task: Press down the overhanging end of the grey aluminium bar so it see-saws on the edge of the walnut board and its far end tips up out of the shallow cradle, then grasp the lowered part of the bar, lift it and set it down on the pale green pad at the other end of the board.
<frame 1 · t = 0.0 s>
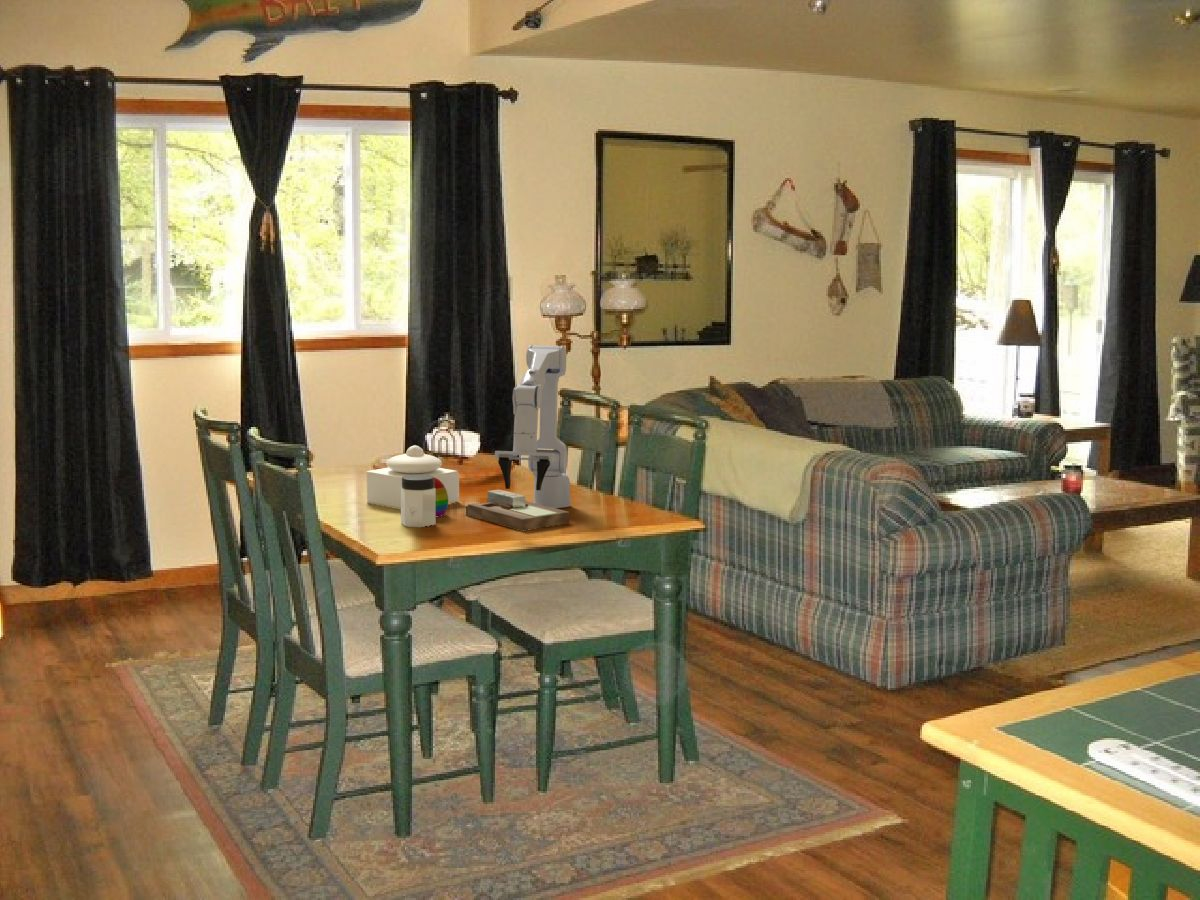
hand: (523, 489, 326), 11 cm above the table, tool pointing down, fingers open, 7 cm apart
pad: (533, 512, 336), resting on board
jar: (418, 524, 334), on the table
butter dish: (412, 504, 361), on the table
board: (516, 519, 342), on the table
bar: (506, 504, 345), point 3 cm above the table, touching board
decorative egg: (432, 516, 345), on the table
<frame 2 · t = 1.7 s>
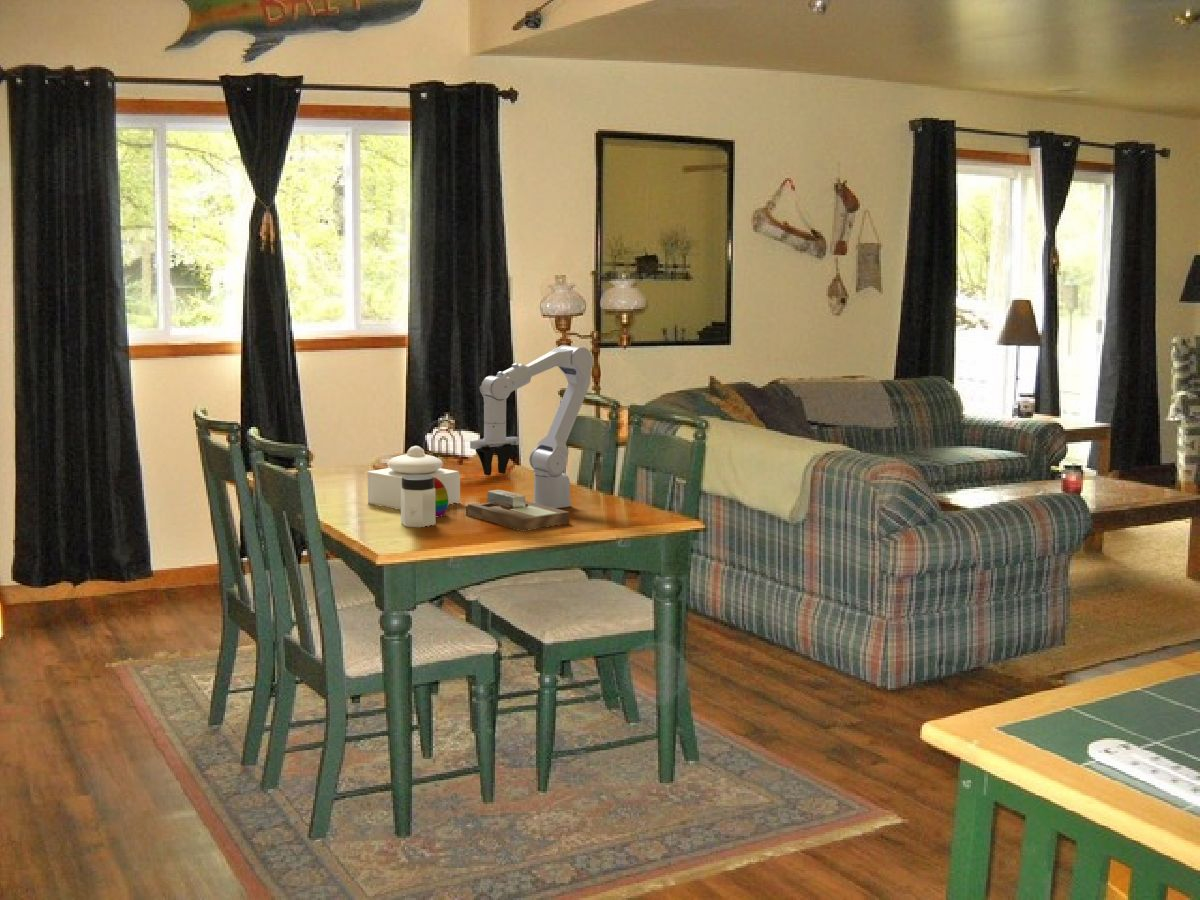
hand: (494, 474, 347), 10 cm above the table, tool pointing down, fingers open, 4 cm apart
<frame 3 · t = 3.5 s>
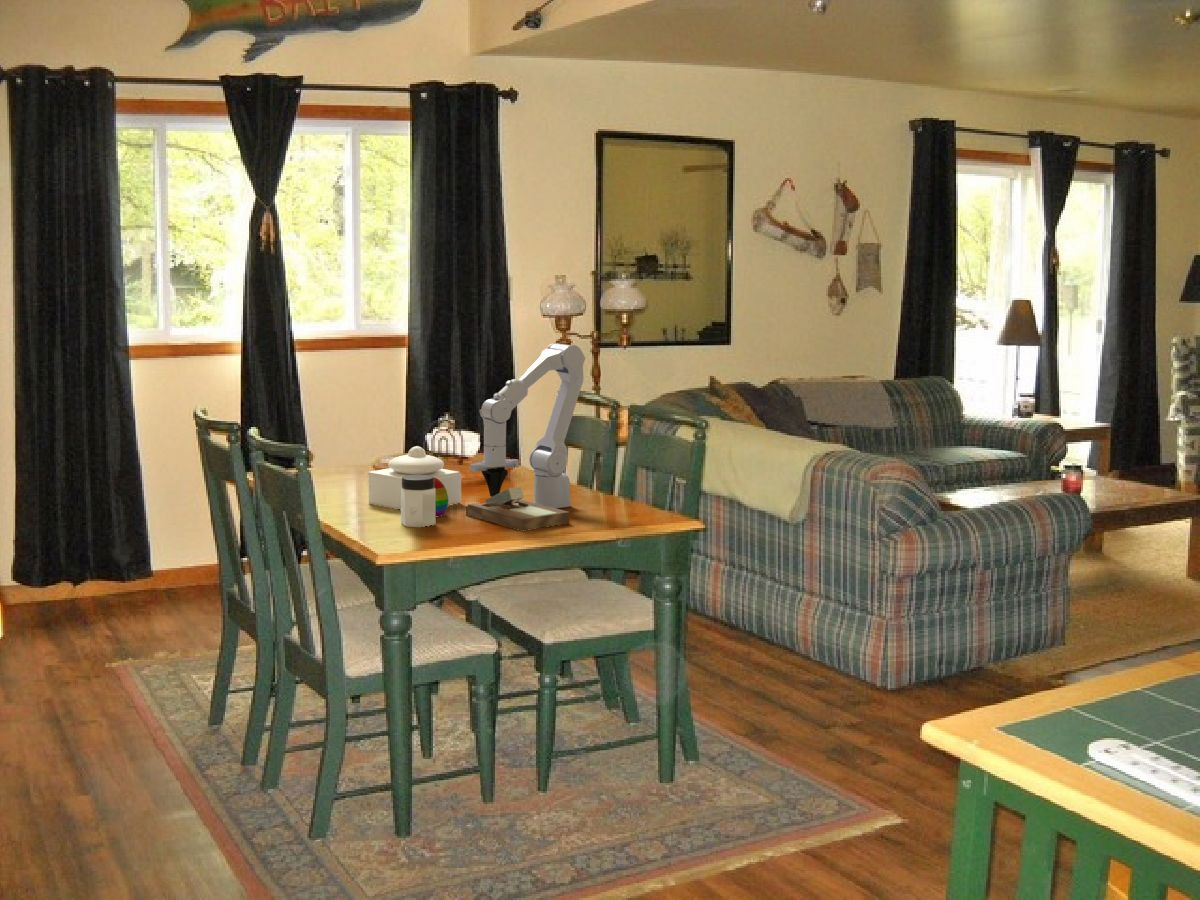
hand: (494, 496, 348), 4 cm above the table, tool pointing down, fingers closed, pressing on bar
bar: (505, 504, 345), point 3 cm above the table, tilted 25°, touching board, gripper
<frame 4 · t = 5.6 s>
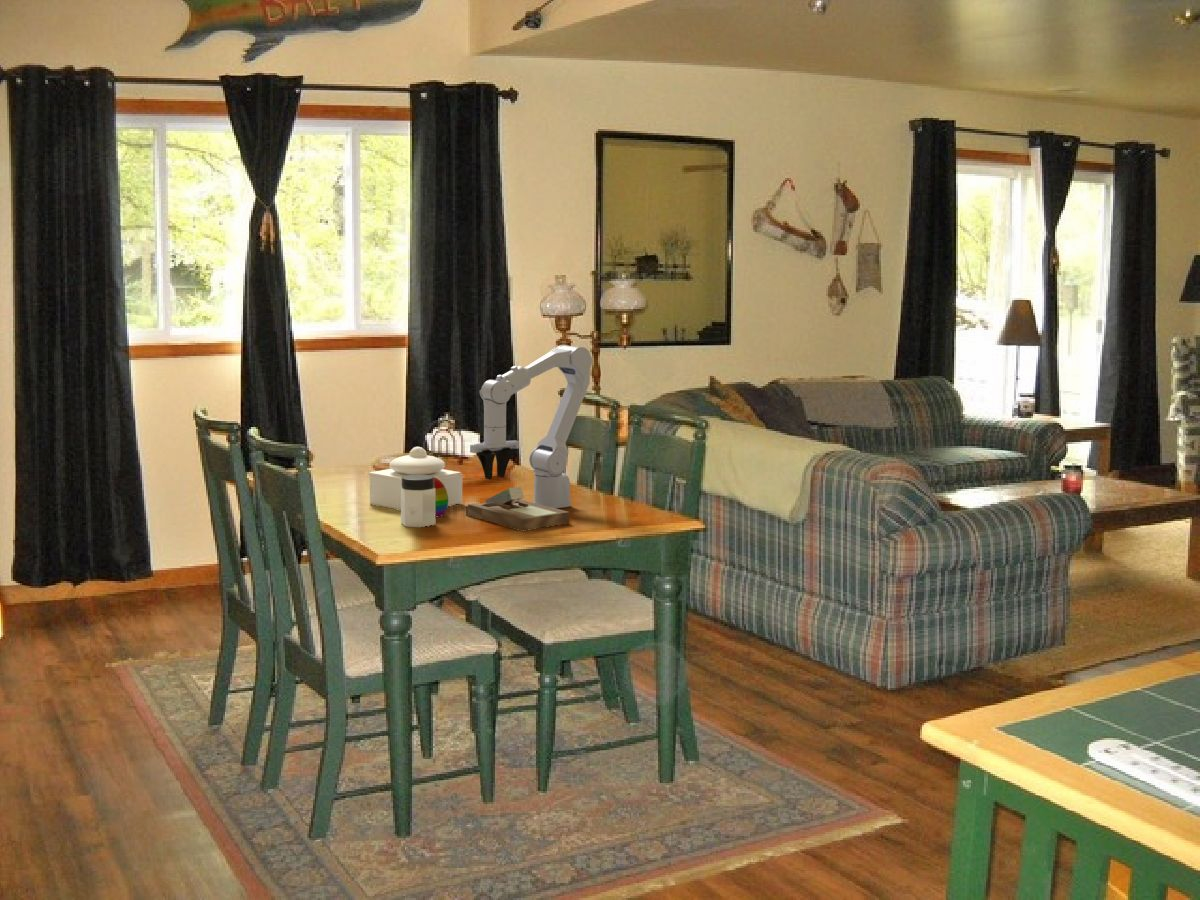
hand: (494, 477, 347), 9 cm above the table, tool pointing down, fingers open, 3 cm apart
bar: (505, 504, 345), point 3 cm above the table, tilted 25°, touching board
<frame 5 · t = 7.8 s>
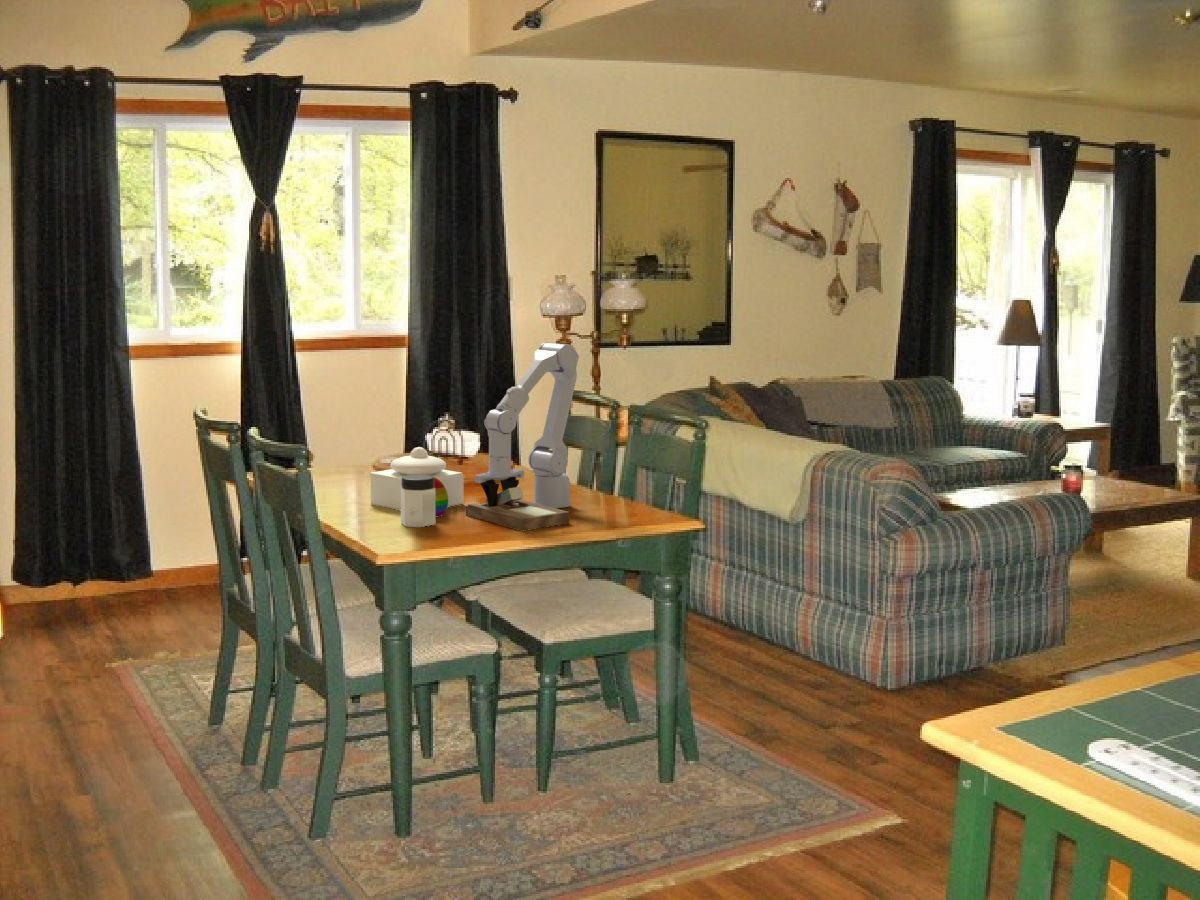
hand: (499, 507, 347), 2 cm above the table, tool pointing down, fingers closed on bar, 4 cm apart
bar: (506, 504, 345), point 3 cm above the table, tilted 25°, touching board, gripper
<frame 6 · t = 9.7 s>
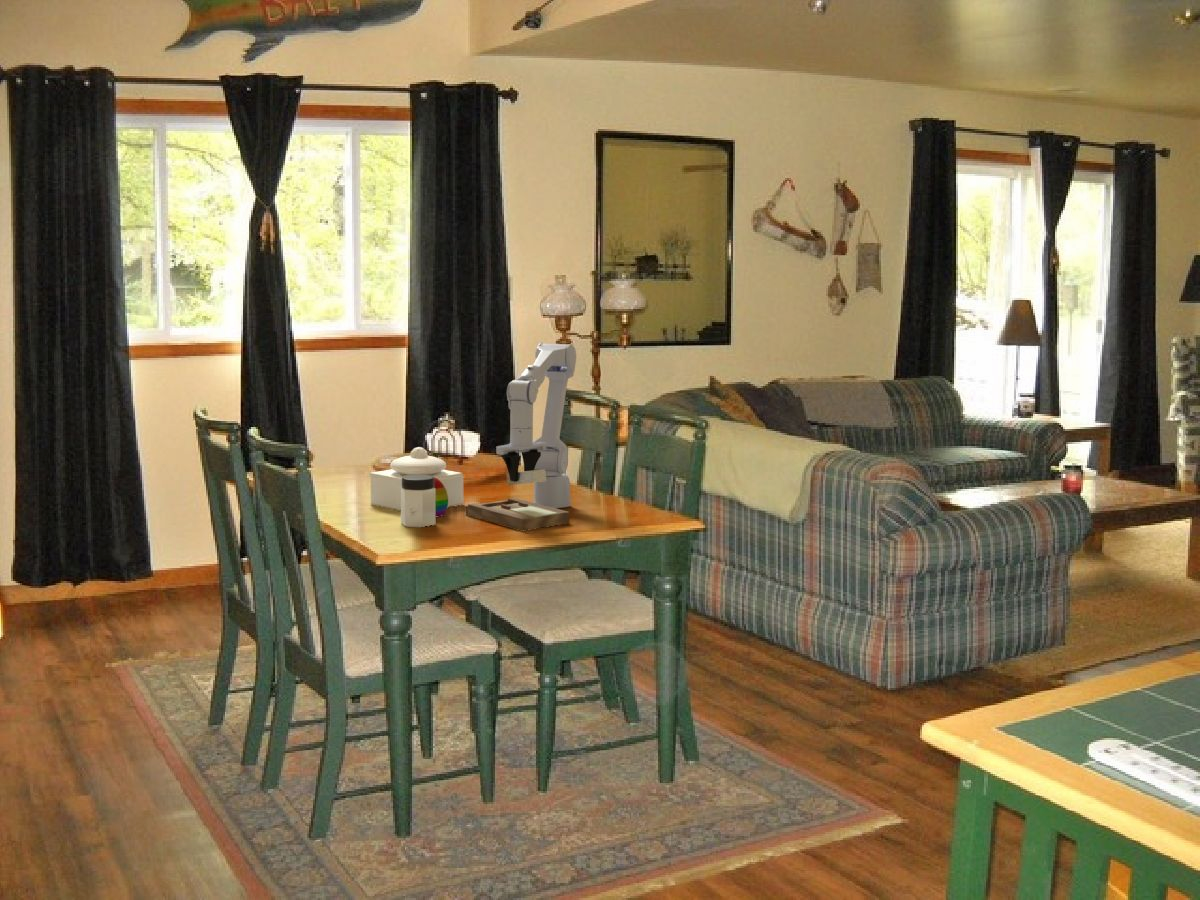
hand: (521, 480, 339), 10 cm above the table, tool pointing down, fingers closed on bar, 4 cm apart
bar: (526, 483, 337), point 10 cm above the table, tilted 12°, touching gripper
when the fingers open (5 cm above the table, at t = 11.3 s): bar drops 1 cm, resting on pad.
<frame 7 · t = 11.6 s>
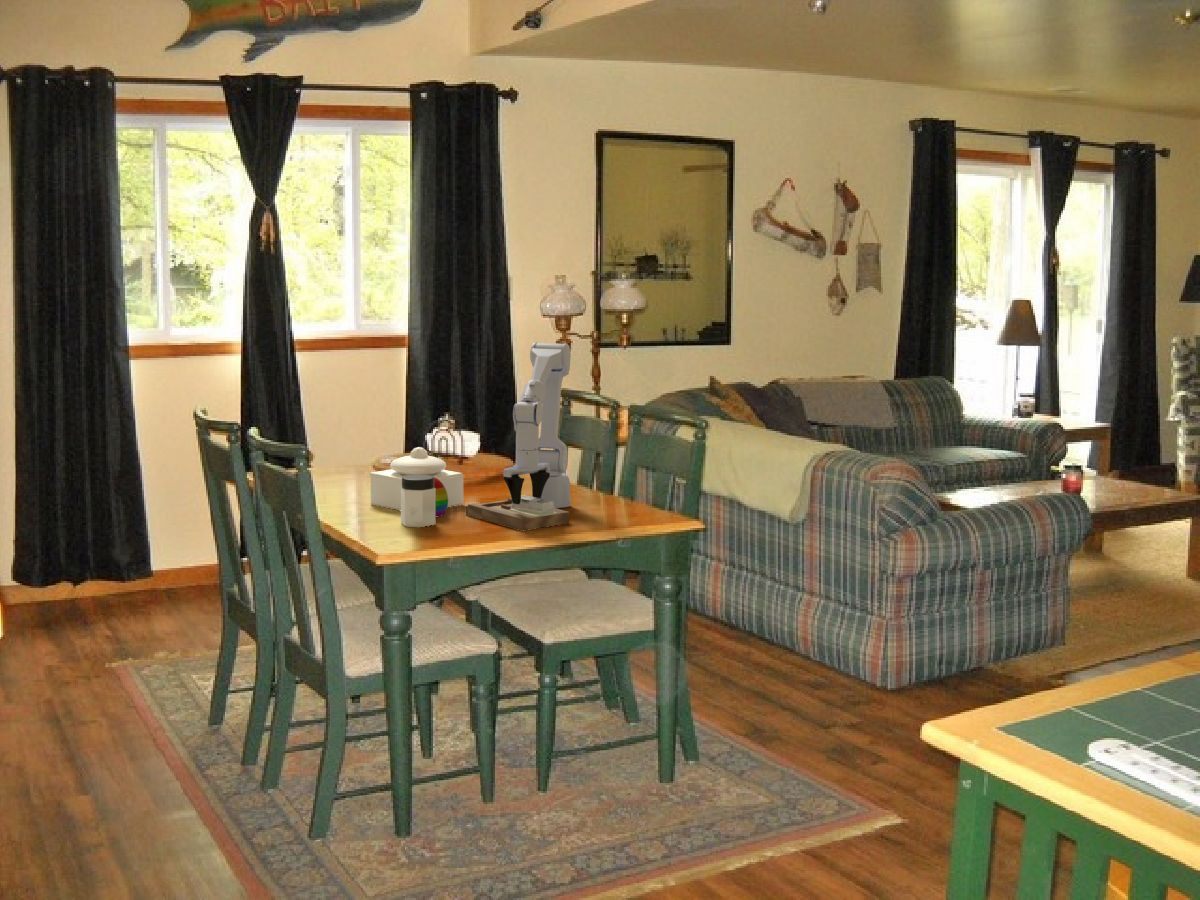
hand: (526, 501, 338), 5 cm above the table, tool pointing down, fingers open, 7 cm apart
bar: (532, 510, 337), point 3 cm above the table, touching pad
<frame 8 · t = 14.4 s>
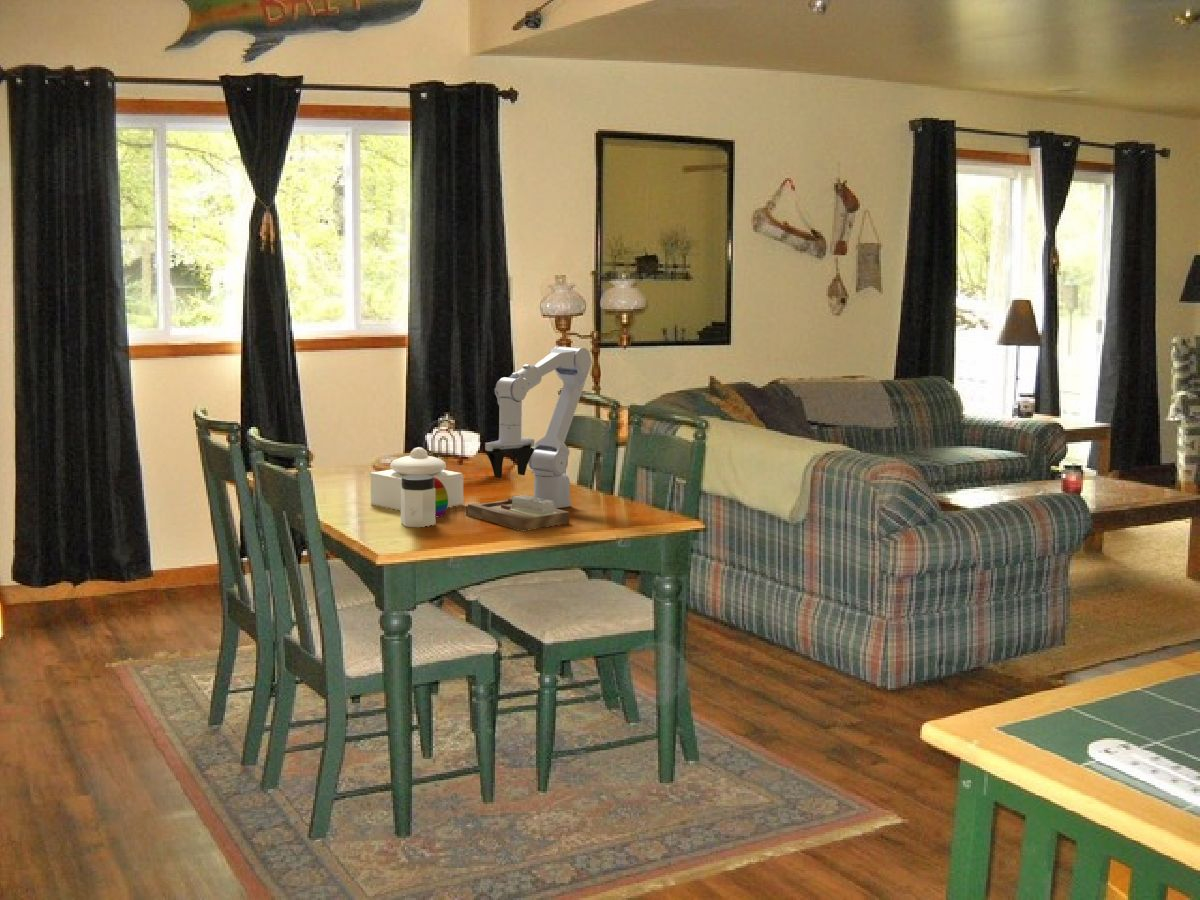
hand: (509, 476, 345), 10 cm above the table, tool pointing down, fingers open, 7 cm apart
at the end: bar inside the target area on the pad (0.5 cm from its centre), point 0.3 cm above the pad's base; bar moved 10.9 cm from its start; the gripper is holding nothing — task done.
